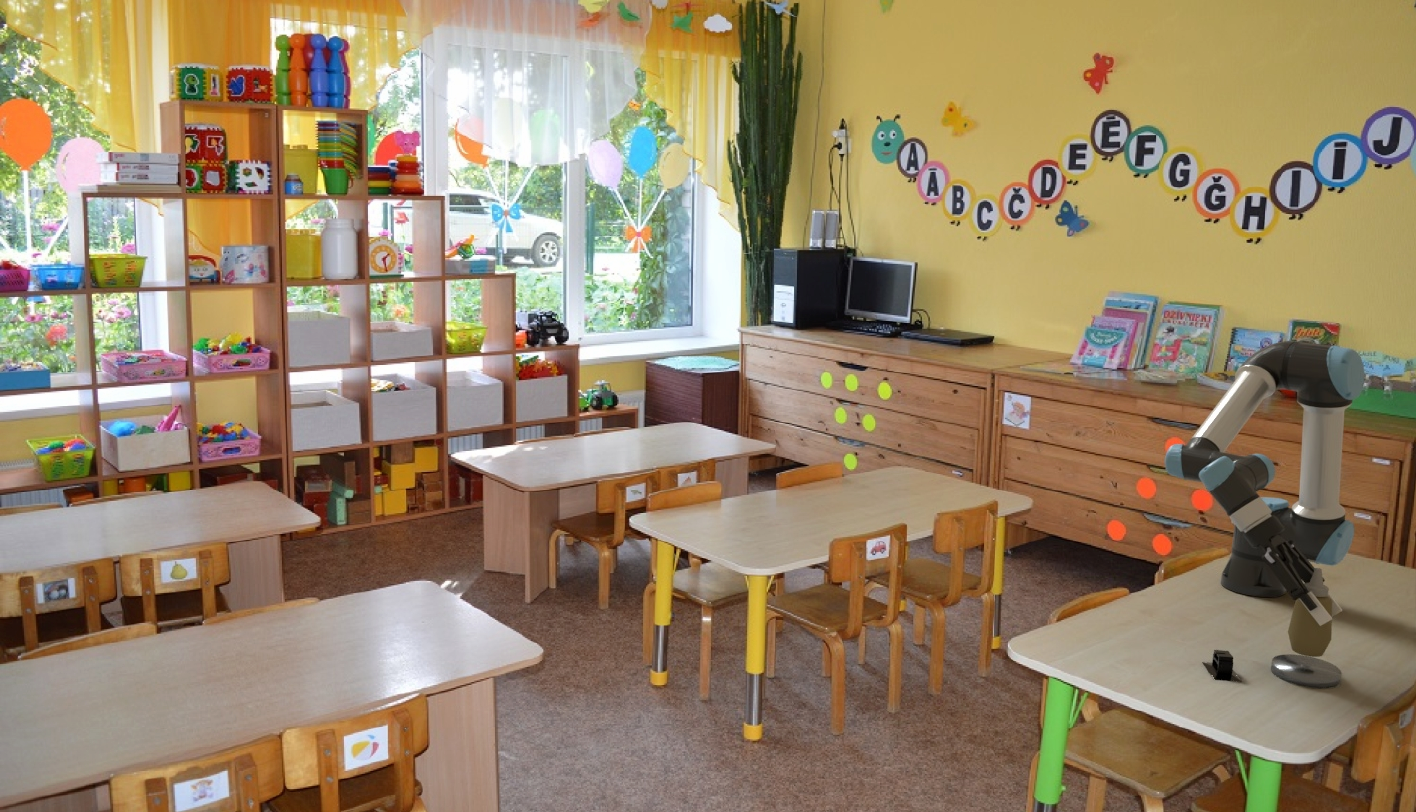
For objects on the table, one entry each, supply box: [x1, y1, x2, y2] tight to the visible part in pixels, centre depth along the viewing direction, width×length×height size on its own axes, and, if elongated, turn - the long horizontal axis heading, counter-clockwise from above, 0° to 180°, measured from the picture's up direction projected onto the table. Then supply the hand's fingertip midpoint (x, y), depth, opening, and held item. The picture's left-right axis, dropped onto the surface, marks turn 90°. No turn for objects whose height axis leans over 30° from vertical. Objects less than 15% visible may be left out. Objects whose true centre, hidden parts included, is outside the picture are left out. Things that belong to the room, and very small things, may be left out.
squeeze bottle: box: [1287, 567, 1333, 658], centre depth 248 cm, size 8×8×18 cm
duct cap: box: [1270, 653, 1343, 689], centre depth 250 cm, size 13×13×2 cm
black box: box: [1201, 649, 1243, 683], centre depth 251 cm, size 12×7×5 cm, turn 173°
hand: (1331, 618), depth 246 cm, fingers closed on squeeze bottle, 6 cm apart
